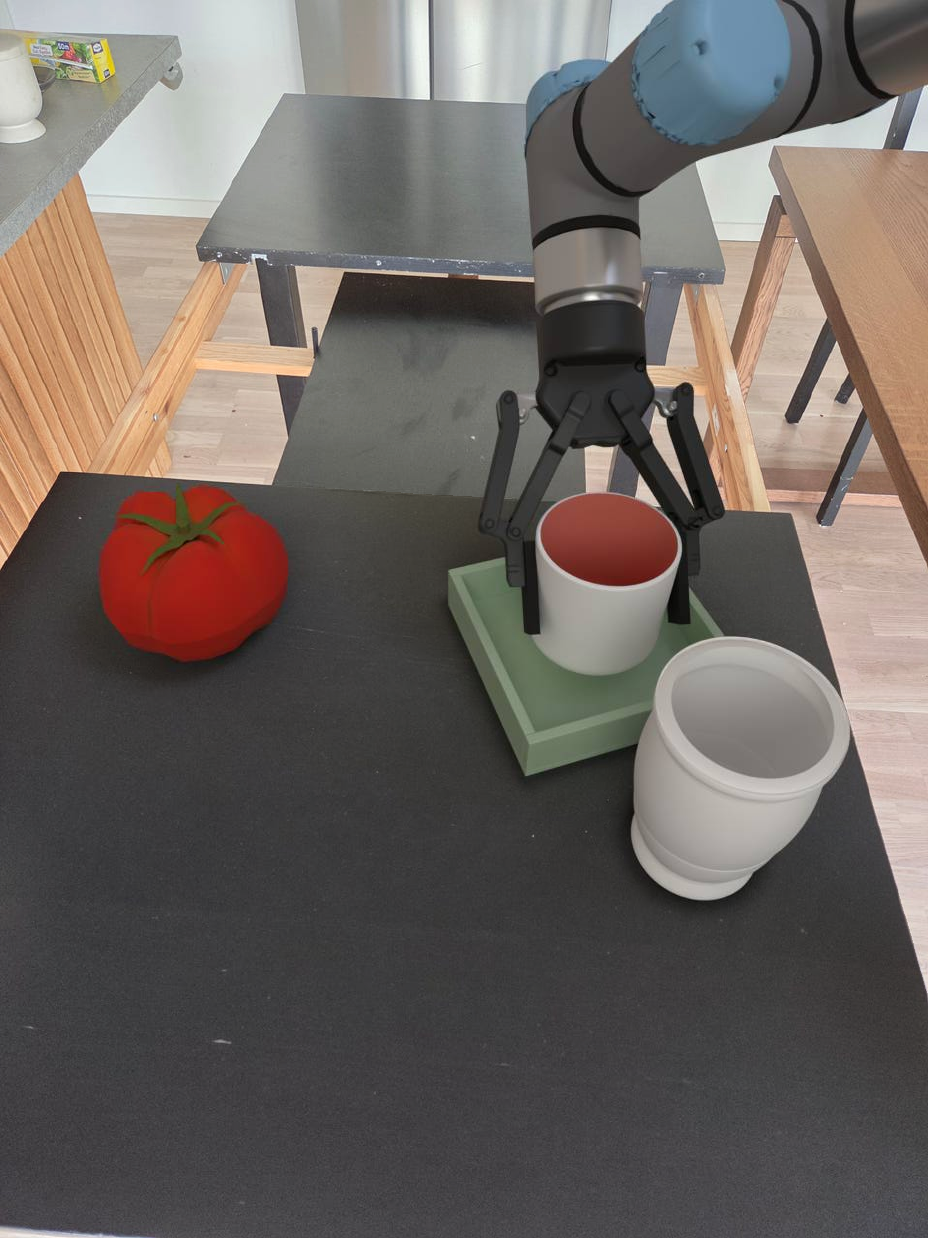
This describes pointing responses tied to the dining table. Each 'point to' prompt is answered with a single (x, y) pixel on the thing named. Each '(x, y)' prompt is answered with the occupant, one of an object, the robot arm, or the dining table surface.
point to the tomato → (191, 572)
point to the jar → (731, 762)
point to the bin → (556, 675)
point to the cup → (603, 581)
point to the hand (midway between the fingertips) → (606, 628)
